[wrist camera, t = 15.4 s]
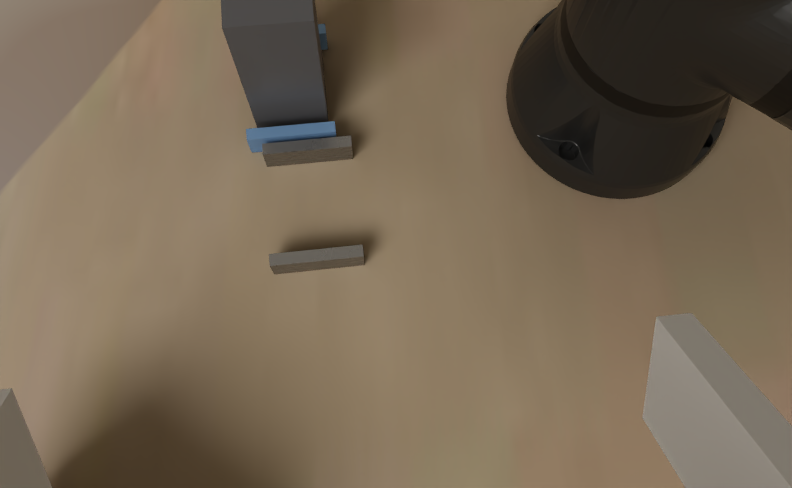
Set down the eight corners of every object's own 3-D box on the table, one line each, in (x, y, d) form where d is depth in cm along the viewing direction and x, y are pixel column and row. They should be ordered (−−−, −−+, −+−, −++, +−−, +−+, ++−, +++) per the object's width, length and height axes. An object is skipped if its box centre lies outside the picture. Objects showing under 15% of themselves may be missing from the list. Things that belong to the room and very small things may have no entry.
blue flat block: (326, 40, 51) (325, 23, 49) (337, 144, 49) (335, 131, 47) (245, 46, 51) (240, 30, 49) (251, 152, 48) (246, 139, 46)
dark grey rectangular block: (322, 62, 51) (307, -54, 39) (328, 123, 49) (313, 20, 38) (254, 67, 50) (219, -48, 39) (258, 129, 49) (222, 27, 38)
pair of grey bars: (351, 148, 49) (350, 135, 47) (364, 264, 46) (363, 256, 44) (266, 156, 48) (262, 143, 46) (274, 274, 46) (269, 266, 44)
